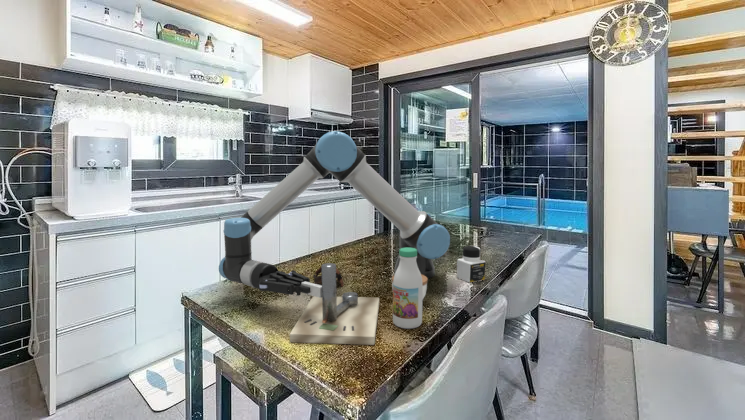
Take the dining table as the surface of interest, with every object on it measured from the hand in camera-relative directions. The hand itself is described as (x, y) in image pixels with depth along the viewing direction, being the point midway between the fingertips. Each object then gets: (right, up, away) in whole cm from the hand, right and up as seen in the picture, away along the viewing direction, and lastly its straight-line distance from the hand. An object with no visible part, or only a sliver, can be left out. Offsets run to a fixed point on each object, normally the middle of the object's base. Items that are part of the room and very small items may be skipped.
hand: (321, 291), depth 90 cm
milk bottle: (+22, -9, +3) cm, 24 cm away
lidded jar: (+24, -7, +17) cm, 30 cm away
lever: (+4, -6, +5) cm, 9 cm away
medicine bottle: (+49, -4, +38) cm, 62 cm away
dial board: (+4, -9, +5) cm, 11 cm away
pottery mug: (-2, -5, +33) cm, 33 cm away
